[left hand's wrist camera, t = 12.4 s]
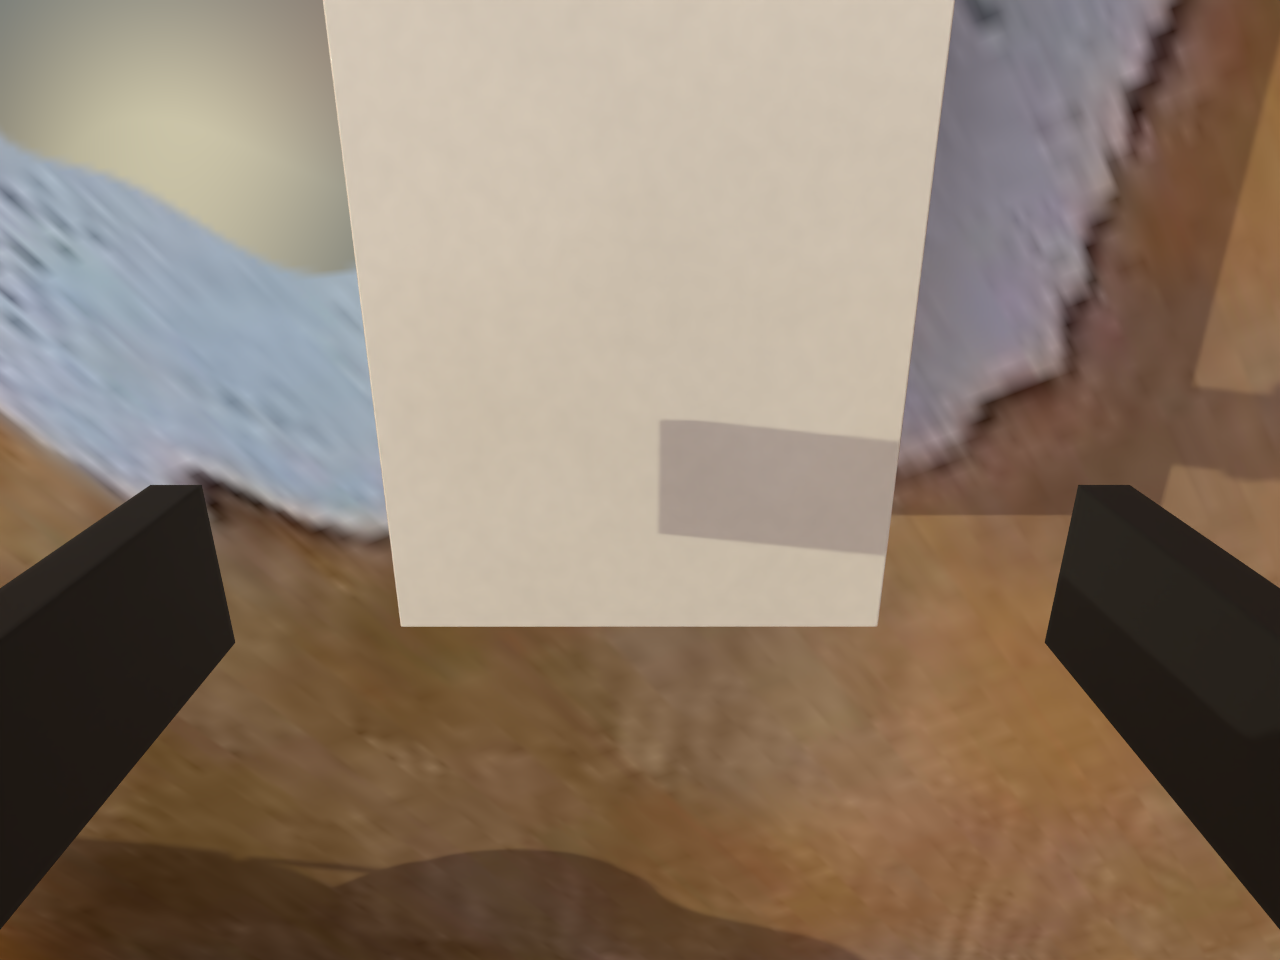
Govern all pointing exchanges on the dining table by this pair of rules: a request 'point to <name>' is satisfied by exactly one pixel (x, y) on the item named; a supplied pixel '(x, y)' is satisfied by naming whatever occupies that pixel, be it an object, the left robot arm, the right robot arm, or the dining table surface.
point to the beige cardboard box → (639, 298)
